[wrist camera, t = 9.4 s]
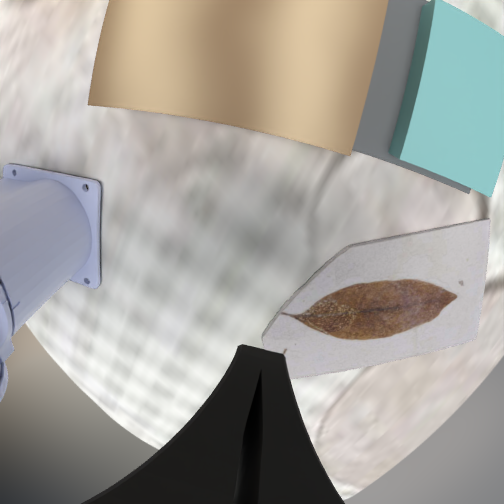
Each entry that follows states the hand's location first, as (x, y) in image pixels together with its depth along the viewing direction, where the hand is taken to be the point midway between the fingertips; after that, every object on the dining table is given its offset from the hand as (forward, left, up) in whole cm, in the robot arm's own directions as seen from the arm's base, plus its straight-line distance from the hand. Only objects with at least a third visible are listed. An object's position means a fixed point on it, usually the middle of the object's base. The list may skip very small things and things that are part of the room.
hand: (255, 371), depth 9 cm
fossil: (+8, -3, -11) cm, 14 cm away
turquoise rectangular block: (+8, +11, -8) cm, 16 cm away
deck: (-4, +11, -10) cm, 16 cm away
